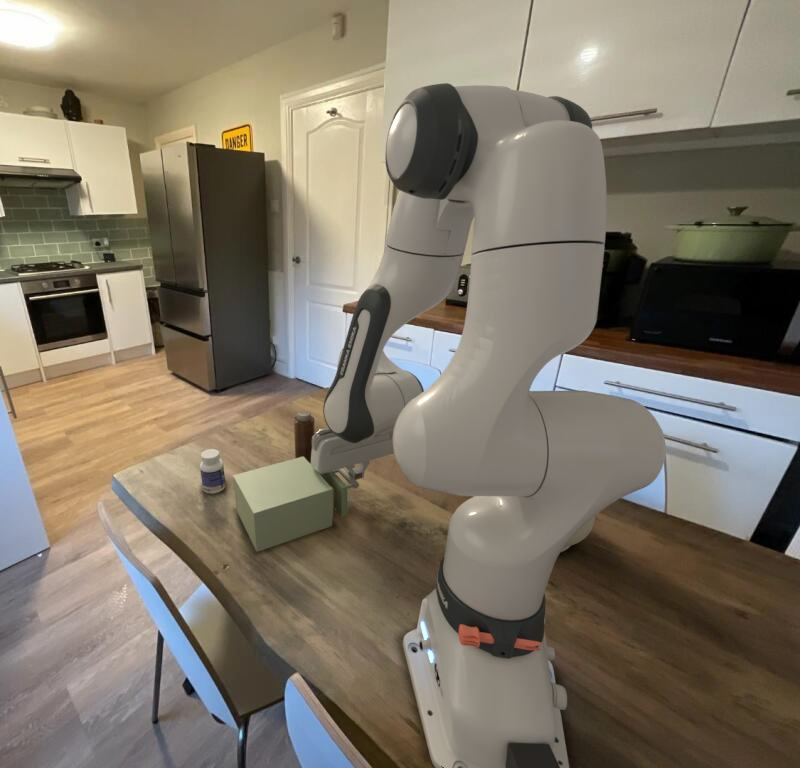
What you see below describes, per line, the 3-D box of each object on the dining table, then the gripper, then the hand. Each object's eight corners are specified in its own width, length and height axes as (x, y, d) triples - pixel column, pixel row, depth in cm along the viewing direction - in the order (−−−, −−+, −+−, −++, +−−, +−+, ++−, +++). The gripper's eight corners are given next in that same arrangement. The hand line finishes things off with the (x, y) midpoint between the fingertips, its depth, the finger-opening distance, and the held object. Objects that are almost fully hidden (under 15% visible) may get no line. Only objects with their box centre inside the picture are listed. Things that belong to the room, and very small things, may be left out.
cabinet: (304, 489, 91) (303, 456, 88) (332, 525, 80) (332, 488, 77) (236, 510, 85) (232, 475, 82) (256, 552, 74) (253, 513, 71)
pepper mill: (313, 471, 97) (312, 418, 92) (293, 470, 98) (291, 416, 93) (316, 461, 101) (315, 409, 96) (297, 459, 103) (296, 407, 97)
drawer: (336, 478, 93) (336, 452, 90) (364, 508, 83) (366, 480, 80) (258, 501, 86) (256, 474, 83) (279, 537, 76) (277, 507, 73)
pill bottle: (228, 490, 92) (224, 456, 88) (205, 496, 90) (200, 462, 86) (222, 478, 96) (219, 445, 93) (200, 483, 94) (196, 450, 91)
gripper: (319, 439, 76) (319, 499, 81) (408, 416, 83) (403, 473, 88) (304, 424, 81) (306, 482, 86) (389, 404, 88) (386, 459, 93)
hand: (356, 478), depth 87 cm, fingers closed
